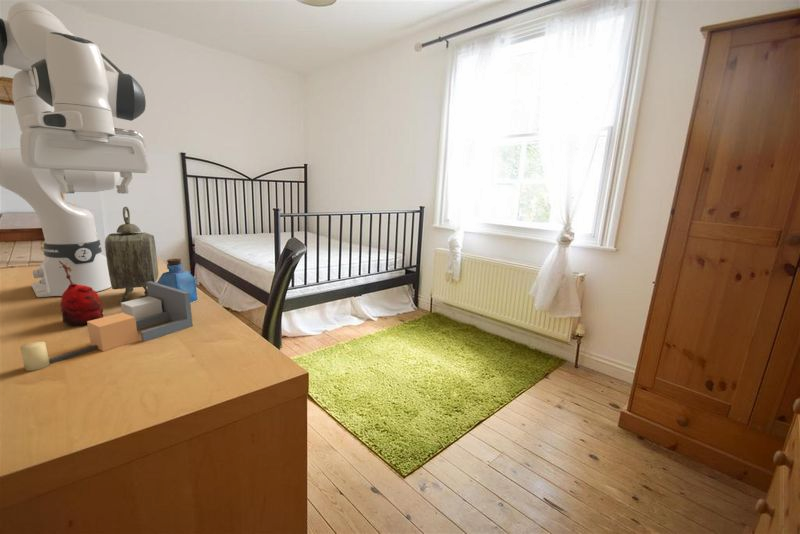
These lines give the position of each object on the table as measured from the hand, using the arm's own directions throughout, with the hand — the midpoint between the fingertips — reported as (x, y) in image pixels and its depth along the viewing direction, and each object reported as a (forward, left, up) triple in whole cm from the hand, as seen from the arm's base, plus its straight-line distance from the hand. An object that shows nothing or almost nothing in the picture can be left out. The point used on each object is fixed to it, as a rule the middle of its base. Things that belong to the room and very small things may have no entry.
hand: (97, 193), depth 74 cm
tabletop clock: (-16, +12, -29) cm, 36 cm away
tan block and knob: (+12, -10, -29) cm, 33 cm away
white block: (+4, +4, -29) cm, 30 cm away
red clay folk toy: (-6, -4, -29) cm, 30 cm away
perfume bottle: (-2, +15, -29) cm, 33 cm away
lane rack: (+8, +3, -29) cm, 30 cm away
